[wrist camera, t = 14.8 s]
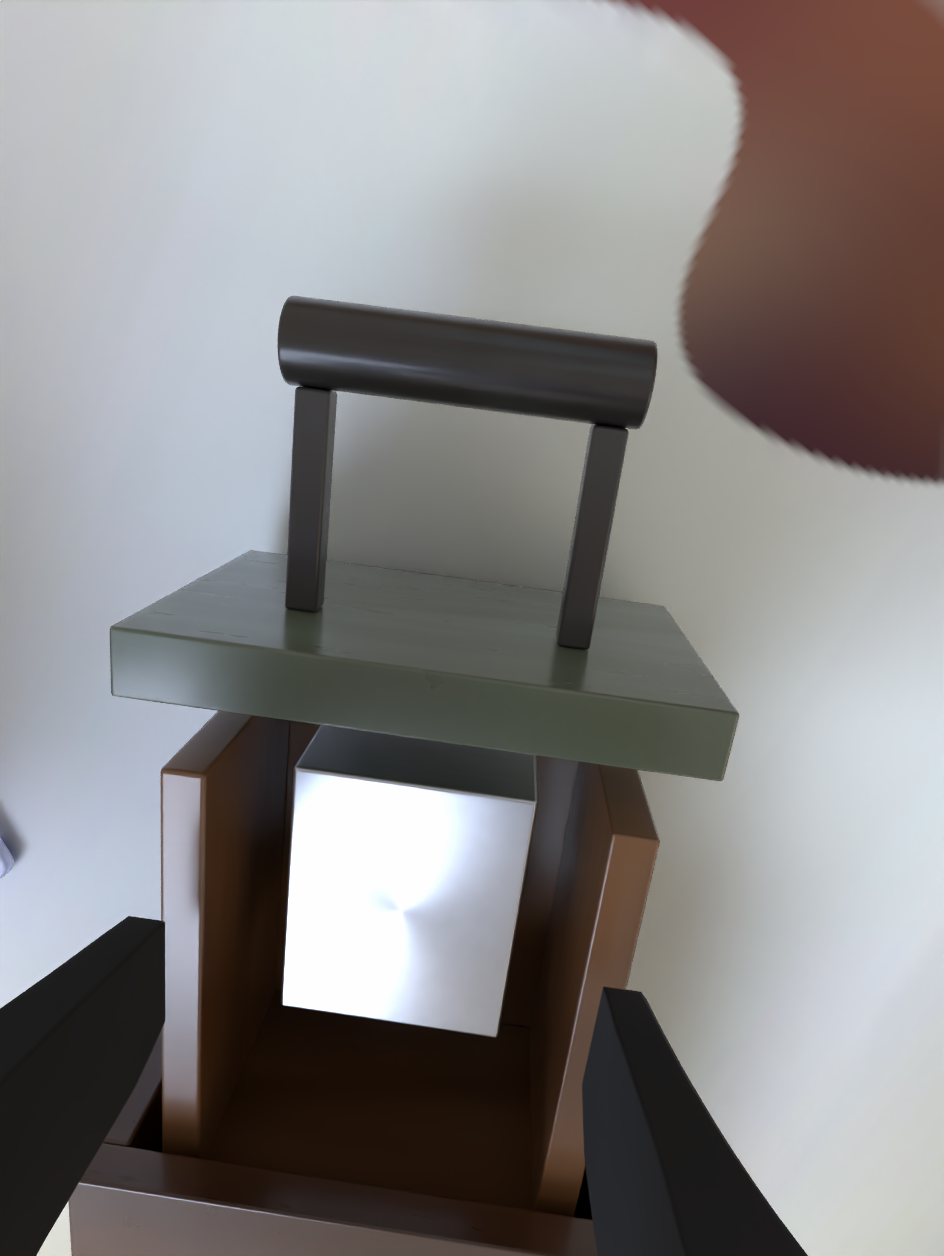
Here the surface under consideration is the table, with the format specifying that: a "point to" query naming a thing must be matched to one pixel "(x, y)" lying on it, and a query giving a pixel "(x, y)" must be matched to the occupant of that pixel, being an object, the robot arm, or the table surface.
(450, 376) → the drawer
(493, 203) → the table surface
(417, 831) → the shiny metal block
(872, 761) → the table surface
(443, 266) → the table surface
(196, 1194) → the cabinet
